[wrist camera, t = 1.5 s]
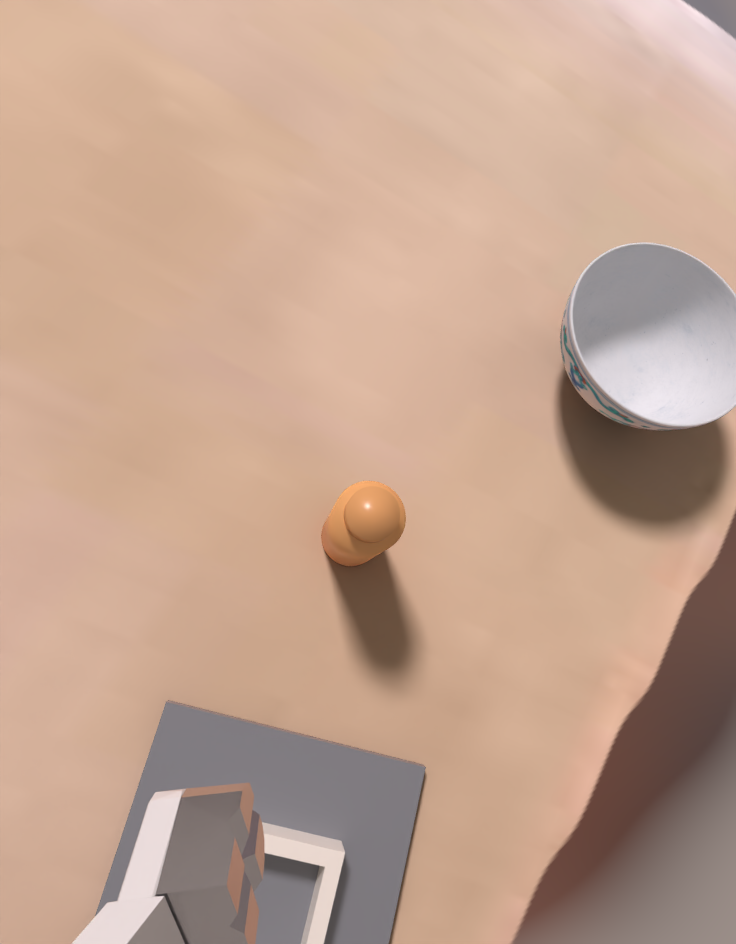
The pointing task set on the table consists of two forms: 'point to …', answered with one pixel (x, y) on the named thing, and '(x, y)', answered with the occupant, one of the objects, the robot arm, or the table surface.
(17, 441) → the table surface
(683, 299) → the chinaware
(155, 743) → the holder
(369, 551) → the orange cylinder
